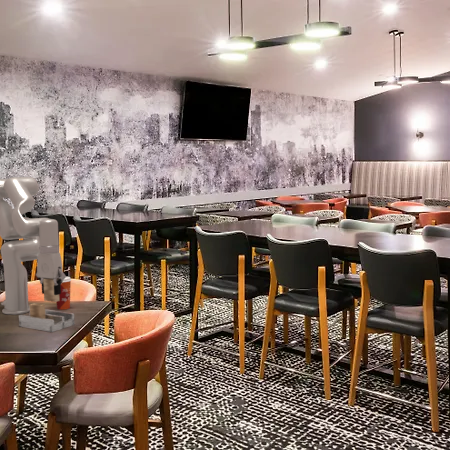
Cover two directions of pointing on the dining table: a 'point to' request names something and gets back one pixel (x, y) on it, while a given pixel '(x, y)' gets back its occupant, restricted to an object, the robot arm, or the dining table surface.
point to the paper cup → (64, 295)
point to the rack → (48, 321)
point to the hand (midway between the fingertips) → (51, 293)
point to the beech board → (49, 290)
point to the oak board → (37, 310)
